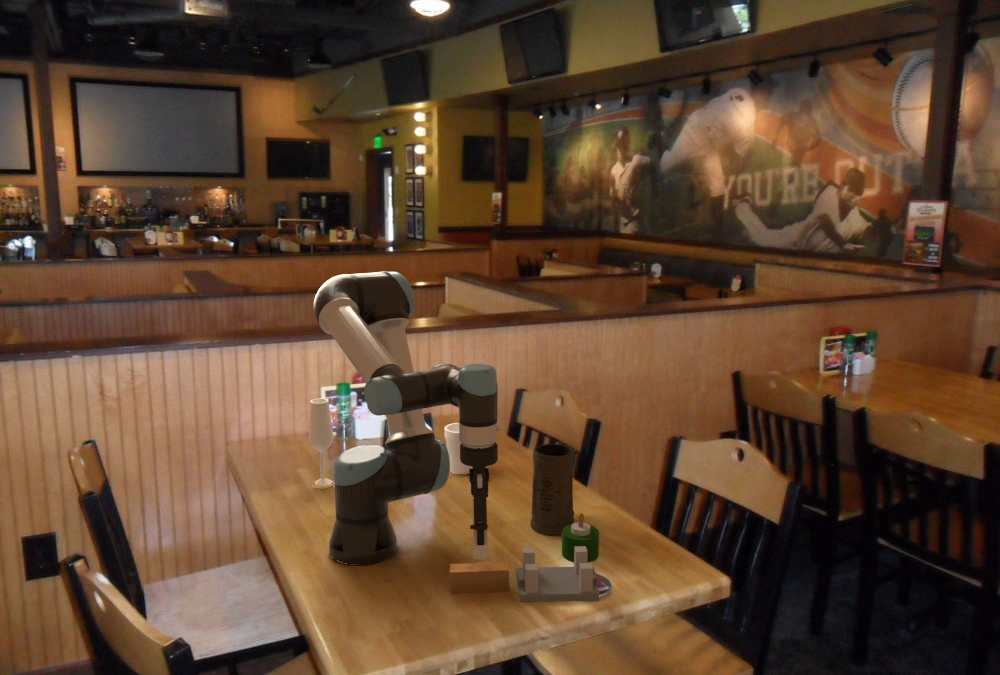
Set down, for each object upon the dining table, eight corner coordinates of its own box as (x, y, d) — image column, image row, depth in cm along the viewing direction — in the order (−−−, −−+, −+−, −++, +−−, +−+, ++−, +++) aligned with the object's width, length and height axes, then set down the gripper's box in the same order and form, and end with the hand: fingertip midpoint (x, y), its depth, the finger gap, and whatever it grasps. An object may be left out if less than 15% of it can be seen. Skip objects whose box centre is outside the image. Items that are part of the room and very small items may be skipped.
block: (450, 595, 157) (450, 572, 156) (450, 586, 160) (449, 564, 159) (509, 592, 158) (509, 570, 157) (507, 584, 161) (507, 561, 160)
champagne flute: (332, 489, 210) (328, 404, 205) (307, 489, 210) (303, 404, 205) (338, 480, 216) (334, 397, 211) (314, 479, 216) (310, 397, 212)
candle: (560, 545, 178) (561, 504, 176) (596, 546, 178) (598, 505, 176) (562, 562, 170) (563, 520, 168) (600, 563, 170) (601, 521, 168)
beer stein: (571, 538, 181) (574, 456, 178) (526, 534, 183) (528, 452, 180) (578, 515, 196) (580, 439, 193) (536, 512, 198) (538, 436, 195)
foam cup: (483, 468, 225) (483, 426, 222) (465, 479, 217) (465, 435, 215) (457, 462, 230) (456, 420, 227) (438, 472, 222) (437, 429, 220)
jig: (519, 601, 154) (519, 571, 153) (516, 574, 165) (516, 546, 164) (599, 600, 155) (600, 570, 153) (590, 572, 166) (591, 544, 164)
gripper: (500, 464, 141) (501, 571, 145) (495, 423, 165) (496, 516, 169) (459, 465, 140) (461, 573, 144) (460, 424, 165) (461, 517, 169)
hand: (480, 542), depth 157 cm, fingers open, 13 cm apart
